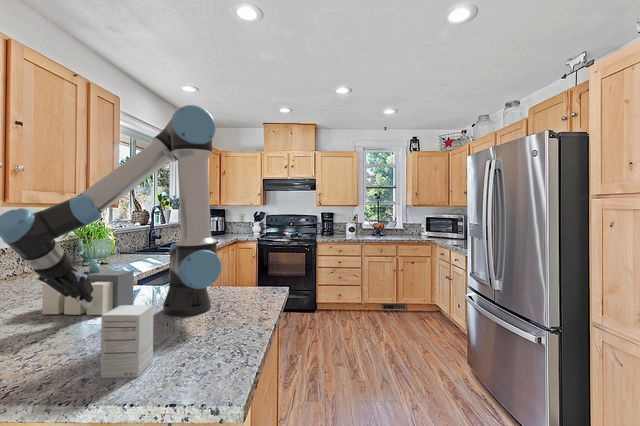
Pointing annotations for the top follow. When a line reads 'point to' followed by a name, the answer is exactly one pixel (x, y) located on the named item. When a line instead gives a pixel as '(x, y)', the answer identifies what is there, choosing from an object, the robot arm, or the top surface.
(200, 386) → the top surface
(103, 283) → the knob
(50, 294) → the knob
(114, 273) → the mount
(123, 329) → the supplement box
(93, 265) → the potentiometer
